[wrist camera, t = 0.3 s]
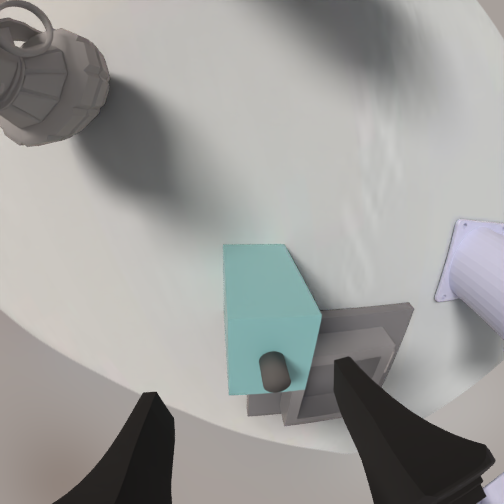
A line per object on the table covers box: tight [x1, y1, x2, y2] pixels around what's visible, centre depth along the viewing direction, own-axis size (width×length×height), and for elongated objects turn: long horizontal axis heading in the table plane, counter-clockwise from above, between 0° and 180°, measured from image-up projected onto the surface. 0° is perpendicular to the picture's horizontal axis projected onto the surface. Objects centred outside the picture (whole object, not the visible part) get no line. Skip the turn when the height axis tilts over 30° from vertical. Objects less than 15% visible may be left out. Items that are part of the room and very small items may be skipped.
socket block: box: [247, 302, 414, 426], centre depth 23 cm, size 14×12×4 cm
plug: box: [223, 244, 322, 395], centre depth 16 cm, size 4×5×10 cm
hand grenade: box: [0, 0, 110, 147], centre depth 9 cm, size 6×6×11 cm
